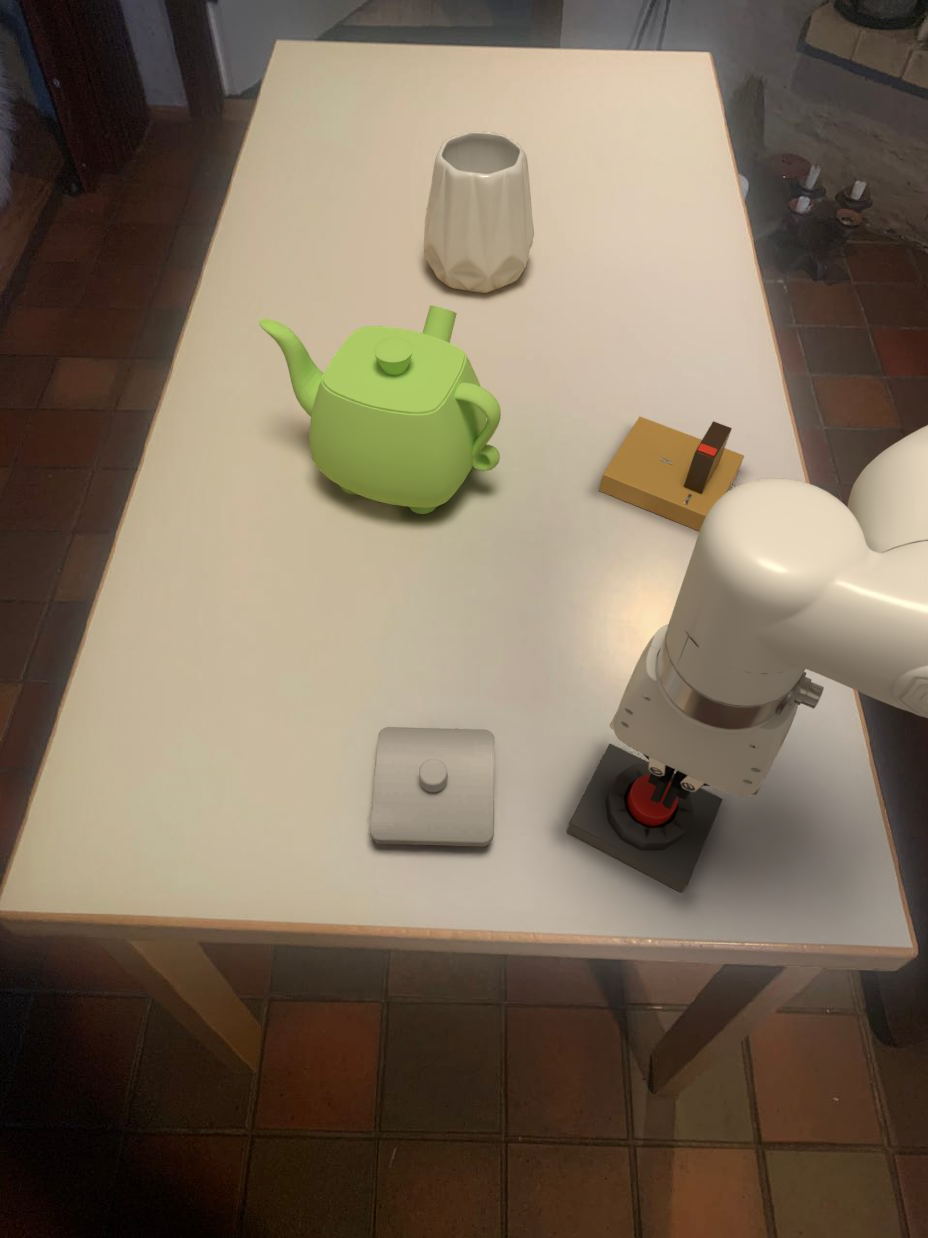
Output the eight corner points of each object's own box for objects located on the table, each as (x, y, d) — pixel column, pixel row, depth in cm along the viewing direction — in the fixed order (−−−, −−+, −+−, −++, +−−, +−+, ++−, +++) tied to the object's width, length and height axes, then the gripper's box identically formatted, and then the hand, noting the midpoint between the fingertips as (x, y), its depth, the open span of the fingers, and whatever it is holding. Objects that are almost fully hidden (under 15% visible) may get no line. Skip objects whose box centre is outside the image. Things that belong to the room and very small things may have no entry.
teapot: (535, 410, 96) (547, 287, 83) (472, 549, 85) (475, 433, 72) (335, 359, 101) (317, 236, 87) (250, 485, 89) (215, 365, 76)
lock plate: (752, 477, 91) (759, 459, 88) (720, 540, 86) (727, 523, 83) (635, 432, 94) (639, 414, 92) (599, 490, 89) (602, 473, 87)
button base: (716, 808, 70) (729, 789, 67) (681, 893, 66) (693, 878, 63) (605, 753, 73) (613, 733, 69) (566, 832, 69) (571, 814, 65)
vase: (492, 226, 116) (497, 110, 104) (552, 279, 110) (565, 162, 97) (405, 258, 112) (398, 141, 99) (462, 315, 105) (463, 197, 93)
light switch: (371, 851, 68) (365, 829, 63) (380, 740, 73) (376, 713, 69) (493, 854, 68) (495, 833, 63) (493, 742, 73) (495, 716, 69)
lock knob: (701, 456, 89) (713, 419, 84) (719, 463, 88) (732, 426, 84) (683, 486, 86) (695, 449, 82) (701, 494, 86) (714, 457, 81)
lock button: (680, 795, 67) (684, 787, 65) (663, 834, 65) (667, 826, 63) (637, 774, 68) (641, 766, 66) (620, 812, 66) (623, 804, 64)
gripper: (875, 668, 48) (779, 792, 63) (630, 568, 52) (596, 707, 67) (838, 776, 44) (747, 880, 59) (579, 659, 48) (555, 784, 64)
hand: (667, 788), depth 63 cm, fingers closed
